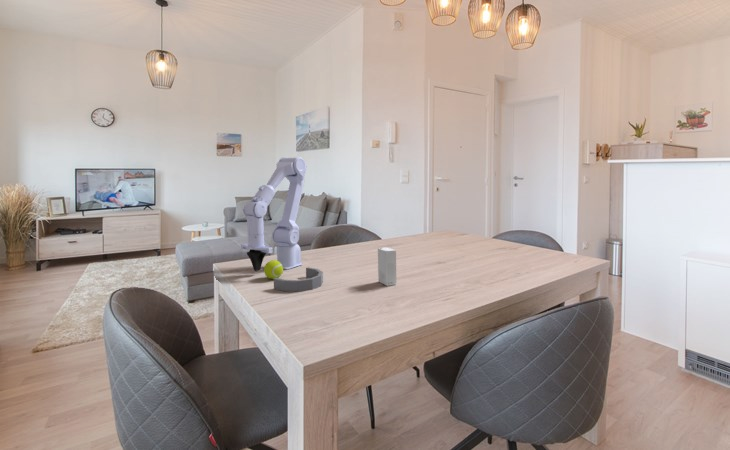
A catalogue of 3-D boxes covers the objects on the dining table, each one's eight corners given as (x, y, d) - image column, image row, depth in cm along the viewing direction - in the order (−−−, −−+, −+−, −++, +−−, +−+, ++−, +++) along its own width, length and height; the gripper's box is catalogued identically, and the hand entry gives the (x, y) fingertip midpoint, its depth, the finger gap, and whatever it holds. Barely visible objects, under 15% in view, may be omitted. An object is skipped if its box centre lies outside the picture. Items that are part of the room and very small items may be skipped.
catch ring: (308, 276, 137) (308, 267, 137) (332, 281, 131) (332, 271, 131) (273, 289, 122) (273, 278, 122) (299, 294, 117) (299, 284, 116)
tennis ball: (277, 275, 139) (276, 257, 138) (287, 278, 134) (286, 260, 133) (260, 278, 134) (260, 260, 133) (270, 282, 130) (269, 263, 129)
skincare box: (396, 284, 128) (397, 250, 126) (385, 286, 126) (386, 251, 124) (388, 280, 133) (388, 246, 132) (377, 281, 131) (377, 247, 130)
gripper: (233, 233, 137) (235, 269, 139) (261, 237, 129) (263, 275, 131) (248, 231, 143) (250, 265, 145) (276, 234, 135) (277, 271, 137)
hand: (257, 270), depth 138 cm, fingers closed
